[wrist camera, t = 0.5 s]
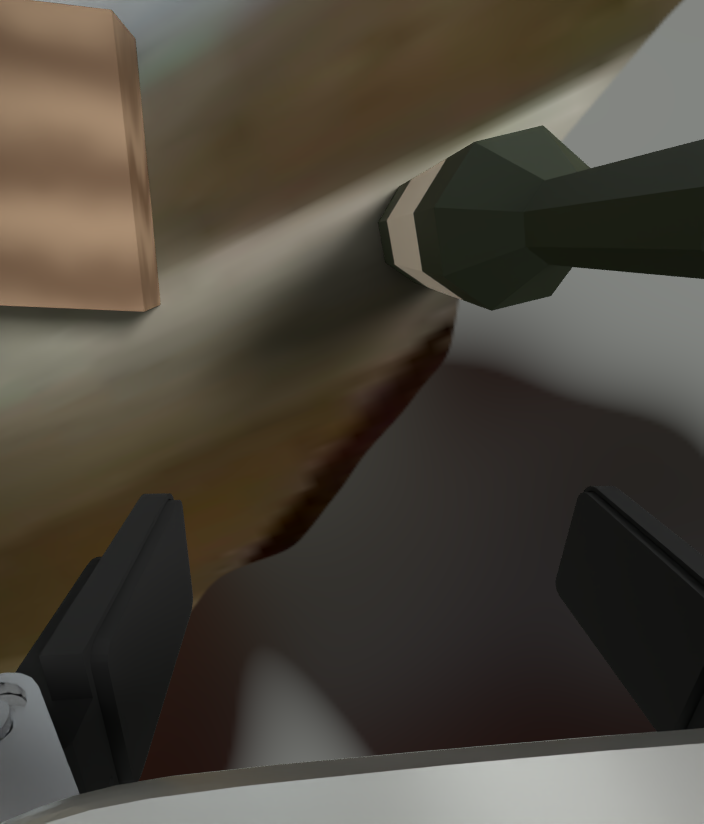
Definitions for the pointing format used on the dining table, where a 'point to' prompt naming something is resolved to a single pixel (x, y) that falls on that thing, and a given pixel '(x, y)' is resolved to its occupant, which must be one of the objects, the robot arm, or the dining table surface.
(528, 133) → the wine bottle
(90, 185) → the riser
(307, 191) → the dining table surface
